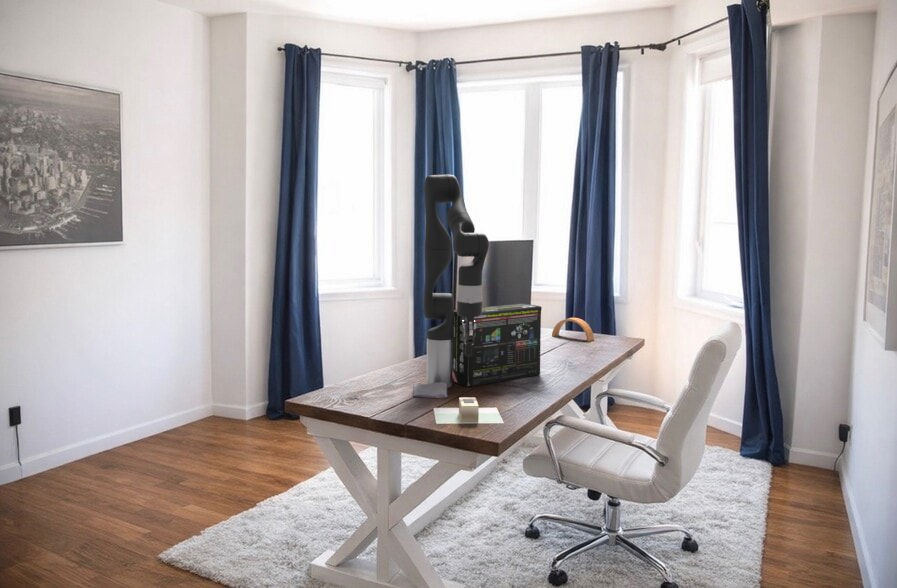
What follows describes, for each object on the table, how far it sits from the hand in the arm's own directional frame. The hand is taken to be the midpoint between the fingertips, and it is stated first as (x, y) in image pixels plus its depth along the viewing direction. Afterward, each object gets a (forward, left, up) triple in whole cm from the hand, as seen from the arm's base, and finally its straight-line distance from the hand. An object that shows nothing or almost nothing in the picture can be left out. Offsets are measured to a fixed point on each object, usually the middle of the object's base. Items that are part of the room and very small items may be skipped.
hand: (468, 356), depth 216 cm
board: (+1, 0, -19) cm, 19 cm away
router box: (-48, +15, -19) cm, 54 cm away
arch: (-127, +64, -19) cm, 144 cm away
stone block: (-23, -10, -19) cm, 32 cm away
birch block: (-1, 0, -16) cm, 16 cm away
